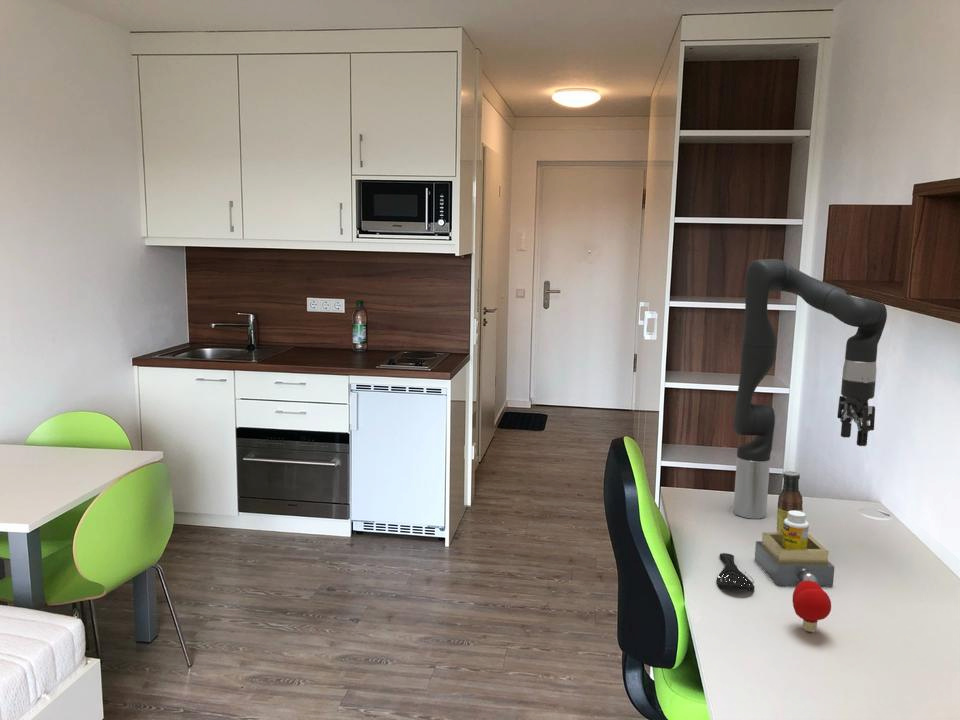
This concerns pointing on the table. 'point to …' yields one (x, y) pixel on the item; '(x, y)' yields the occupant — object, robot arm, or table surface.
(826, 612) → the red toy tree
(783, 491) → the sauce bottle
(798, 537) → the supplement bottle
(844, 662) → the table surface
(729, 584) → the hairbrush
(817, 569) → the drawer with knob
